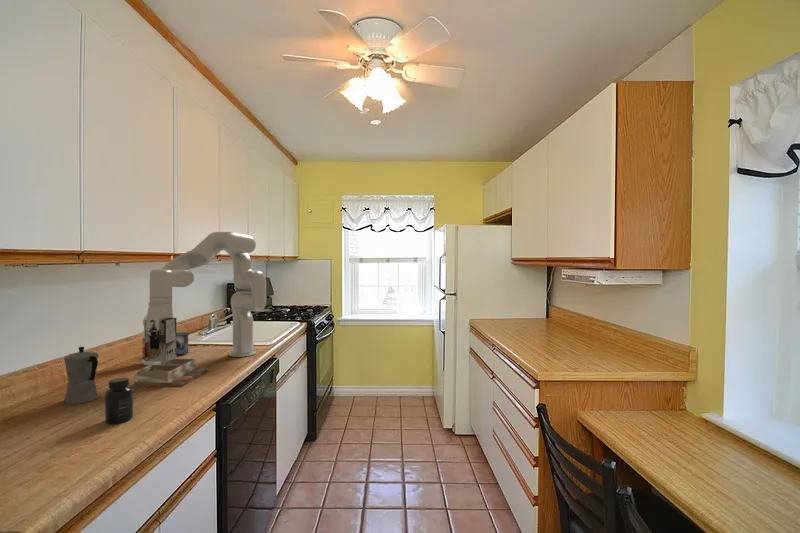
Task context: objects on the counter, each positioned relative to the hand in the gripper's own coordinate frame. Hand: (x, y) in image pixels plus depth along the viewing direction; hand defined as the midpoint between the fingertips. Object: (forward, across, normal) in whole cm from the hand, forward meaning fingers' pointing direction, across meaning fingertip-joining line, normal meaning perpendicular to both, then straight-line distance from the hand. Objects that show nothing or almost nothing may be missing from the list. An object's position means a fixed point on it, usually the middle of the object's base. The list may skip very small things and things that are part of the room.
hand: (160, 346), depth 150 cm
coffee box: (+5, 0, 0) cm, 5 cm away
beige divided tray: (+14, -5, +2) cm, 15 cm away
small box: (+14, -42, -18) cm, 48 cm away
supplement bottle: (+14, +35, +10) cm, 39 cm away
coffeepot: (+14, +20, -14) cm, 28 cm away
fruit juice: (+14, -26, -18) cm, 35 cm away
